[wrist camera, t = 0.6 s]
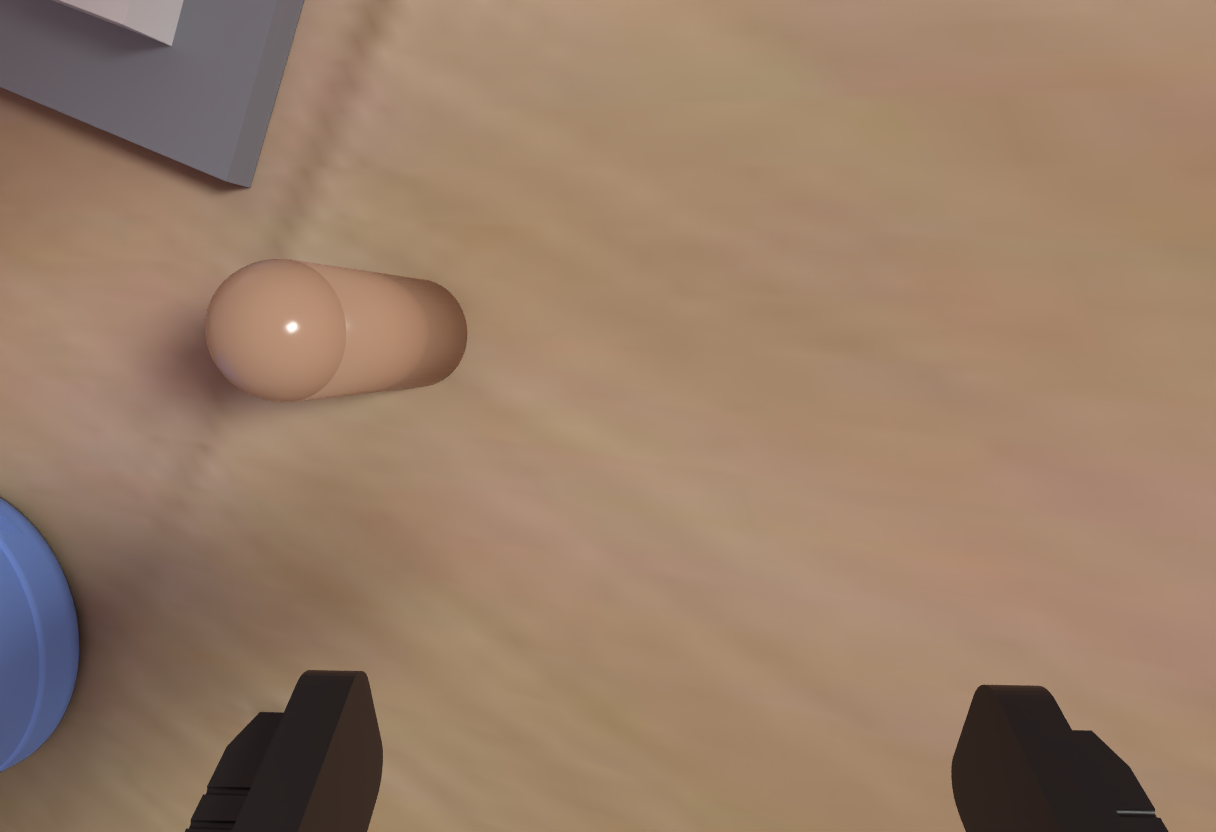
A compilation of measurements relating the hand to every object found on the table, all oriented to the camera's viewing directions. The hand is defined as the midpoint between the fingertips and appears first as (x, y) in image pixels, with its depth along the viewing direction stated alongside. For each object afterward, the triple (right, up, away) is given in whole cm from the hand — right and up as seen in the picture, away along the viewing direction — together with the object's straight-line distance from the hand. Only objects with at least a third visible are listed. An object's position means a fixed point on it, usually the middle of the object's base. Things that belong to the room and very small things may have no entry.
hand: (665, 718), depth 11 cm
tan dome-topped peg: (-9, +8, +24) cm, 27 cm away
